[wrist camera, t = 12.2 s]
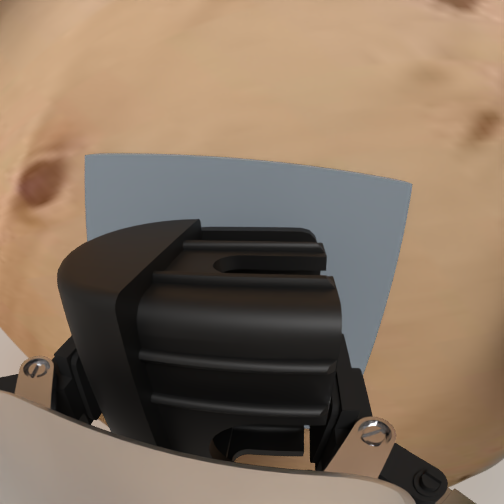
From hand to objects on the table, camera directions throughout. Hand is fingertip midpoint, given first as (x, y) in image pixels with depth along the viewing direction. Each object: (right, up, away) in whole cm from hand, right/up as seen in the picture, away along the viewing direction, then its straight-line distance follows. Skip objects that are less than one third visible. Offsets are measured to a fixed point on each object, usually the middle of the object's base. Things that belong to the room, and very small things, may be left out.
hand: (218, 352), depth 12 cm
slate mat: (0, +1, +4) cm, 4 cm away
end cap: (0, 0, +2) cm, 2 cm away
